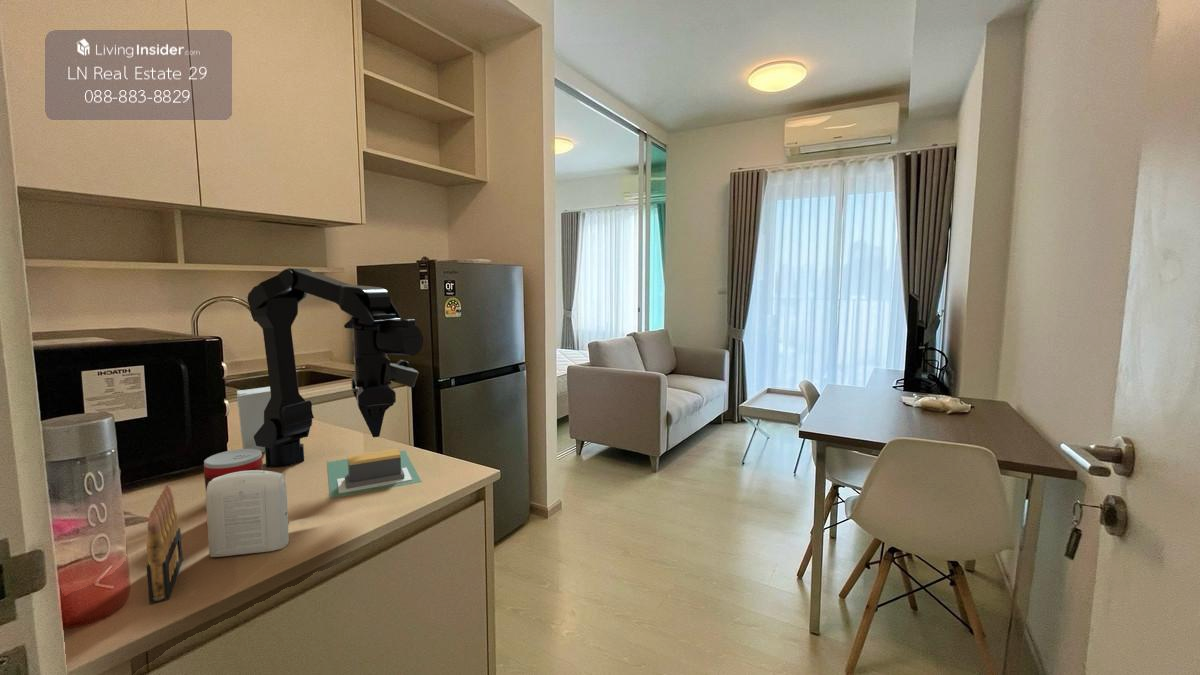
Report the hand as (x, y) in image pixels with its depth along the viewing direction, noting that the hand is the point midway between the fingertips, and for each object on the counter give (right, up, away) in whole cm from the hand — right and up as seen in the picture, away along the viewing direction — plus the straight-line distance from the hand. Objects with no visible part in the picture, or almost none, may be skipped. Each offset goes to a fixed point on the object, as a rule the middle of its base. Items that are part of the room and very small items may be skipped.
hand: (373, 430), depth 95 cm
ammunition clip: (-15, -15, -29) cm, 36 cm away
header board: (-3, -11, +6) cm, 13 cm away
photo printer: (-9, -14, -21) cm, 27 cm away
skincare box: (-36, -9, +21) cm, 43 cm away
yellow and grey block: (0, -9, +1) cm, 9 cm away
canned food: (-18, -13, -12) cm, 25 cm away
